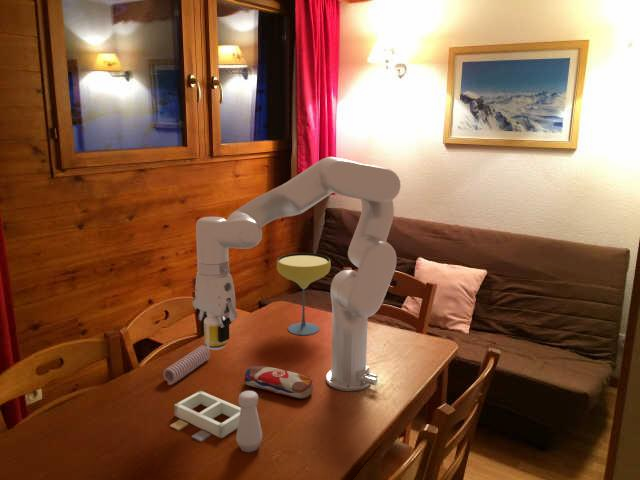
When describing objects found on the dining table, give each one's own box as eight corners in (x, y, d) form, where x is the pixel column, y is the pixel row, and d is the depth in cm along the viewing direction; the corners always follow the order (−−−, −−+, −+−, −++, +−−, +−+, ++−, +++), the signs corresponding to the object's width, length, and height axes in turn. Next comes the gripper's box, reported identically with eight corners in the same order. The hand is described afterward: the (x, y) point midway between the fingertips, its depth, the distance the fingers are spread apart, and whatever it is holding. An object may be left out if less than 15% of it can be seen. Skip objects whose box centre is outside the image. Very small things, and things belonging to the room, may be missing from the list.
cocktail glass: (337, 324, 188) (338, 256, 182) (316, 343, 172) (317, 269, 166) (292, 316, 195) (292, 250, 189) (267, 334, 179) (266, 262, 173)
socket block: (247, 421, 127) (246, 410, 127) (221, 438, 121) (221, 426, 120) (200, 401, 136) (200, 390, 136) (174, 415, 129) (174, 404, 129)
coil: (175, 372, 143) (212, 346, 159) (160, 367, 144) (199, 342, 160) (174, 387, 144) (211, 360, 160) (160, 382, 145) (198, 356, 162)
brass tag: (188, 425, 126) (188, 423, 126) (178, 430, 123) (178, 429, 123) (180, 420, 127) (179, 419, 127) (170, 426, 125) (170, 425, 125)
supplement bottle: (230, 345, 134) (230, 308, 132) (215, 352, 129) (214, 315, 127) (215, 340, 137) (214, 304, 135) (199, 347, 132) (198, 310, 130)
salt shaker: (237, 439, 120) (235, 387, 117) (262, 438, 121) (261, 386, 118) (235, 455, 115) (233, 401, 112) (262, 454, 115) (261, 400, 112)
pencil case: (290, 410, 133) (289, 392, 132) (238, 385, 145) (237, 368, 144) (318, 393, 141) (318, 376, 140) (267, 371, 153) (267, 355, 152)
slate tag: (210, 435, 122) (210, 434, 121) (201, 442, 119) (200, 440, 119) (201, 431, 123) (201, 429, 123) (191, 437, 121) (191, 436, 121)
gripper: (249, 270, 127) (250, 341, 131) (201, 258, 136) (203, 324, 140) (227, 278, 121) (228, 351, 125) (177, 265, 130) (180, 333, 135)
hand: (215, 336), depth 133 cm, fingers closed on supplement bottle, 5 cm apart
